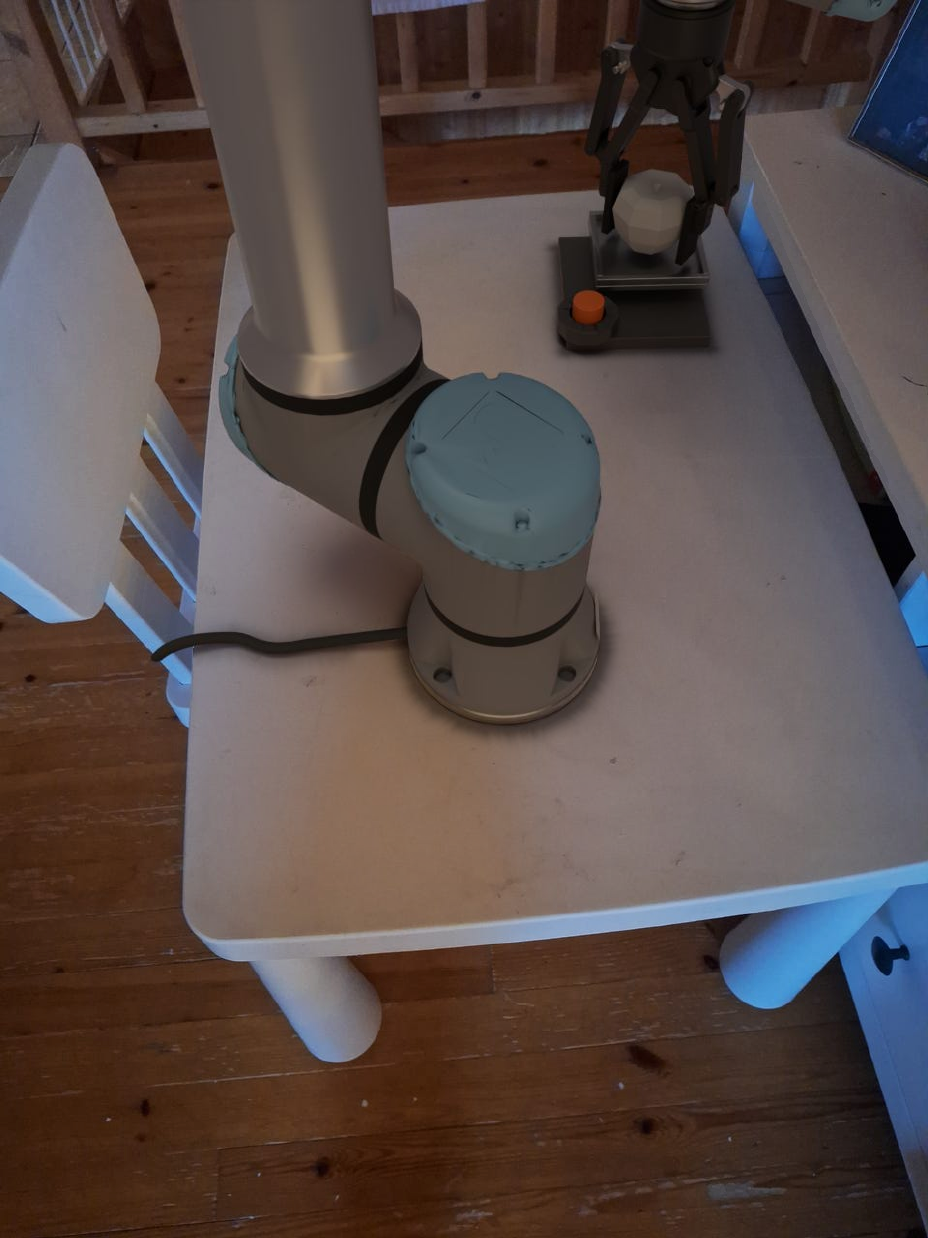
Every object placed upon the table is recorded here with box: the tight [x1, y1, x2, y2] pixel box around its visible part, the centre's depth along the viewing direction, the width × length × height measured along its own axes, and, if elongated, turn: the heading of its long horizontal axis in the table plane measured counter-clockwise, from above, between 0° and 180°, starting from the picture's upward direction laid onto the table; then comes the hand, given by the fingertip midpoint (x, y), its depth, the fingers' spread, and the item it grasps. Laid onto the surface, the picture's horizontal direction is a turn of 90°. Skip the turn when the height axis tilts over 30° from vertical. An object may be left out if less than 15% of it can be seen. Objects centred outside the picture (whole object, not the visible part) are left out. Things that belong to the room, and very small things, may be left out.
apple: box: [612, 168, 694, 255], centre depth 88 cm, size 8×8×7 cm
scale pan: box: [587, 210, 711, 291], centre depth 92 cm, size 11×11×1 cm
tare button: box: [572, 290, 605, 325], centre depth 87 cm, size 3×3×2 cm
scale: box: [555, 236, 712, 351], centre depth 92 cm, size 15×17×3 cm
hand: (647, 241), depth 91 cm, fingers closed on apple, 8 cm apart
